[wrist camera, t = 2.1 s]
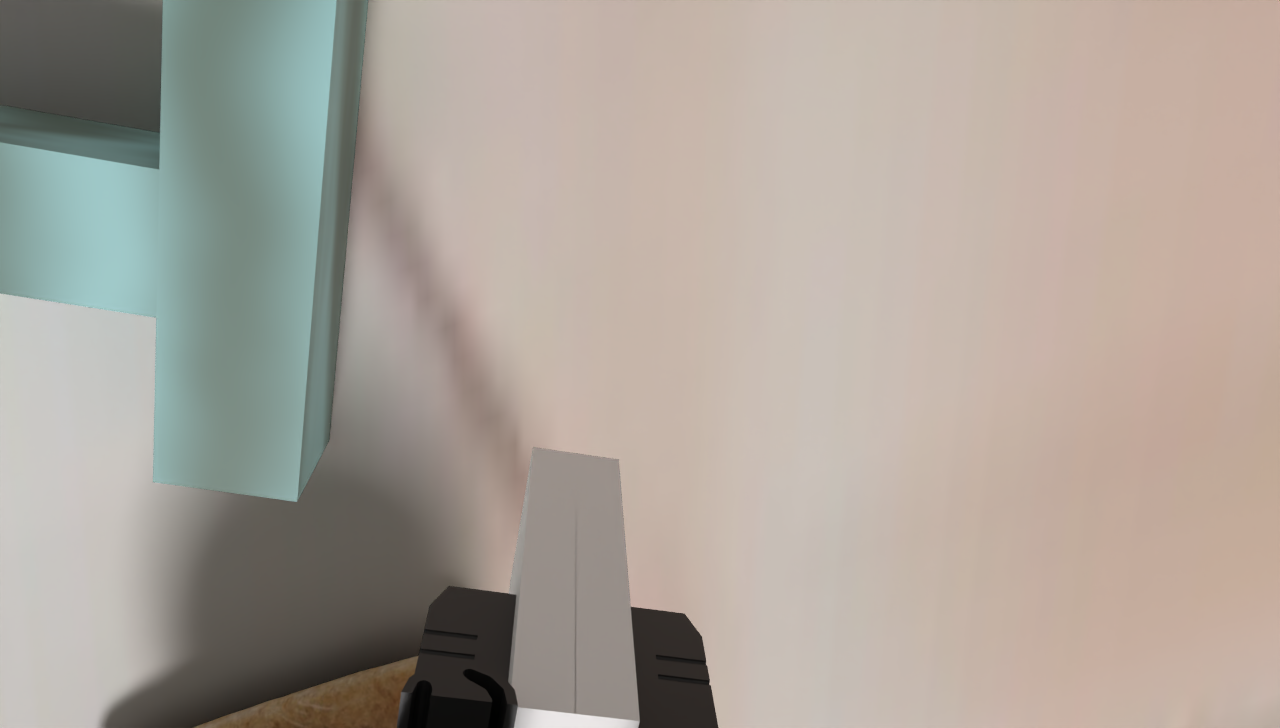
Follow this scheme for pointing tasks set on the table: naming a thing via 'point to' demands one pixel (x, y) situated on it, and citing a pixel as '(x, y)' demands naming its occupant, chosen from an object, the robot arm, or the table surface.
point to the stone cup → (332, 703)
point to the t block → (210, 231)
